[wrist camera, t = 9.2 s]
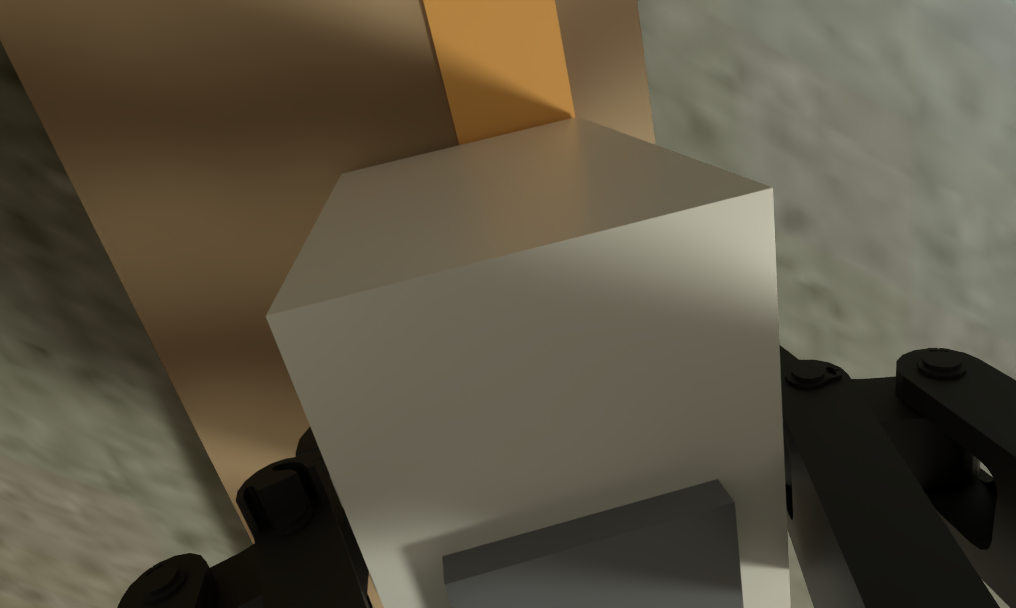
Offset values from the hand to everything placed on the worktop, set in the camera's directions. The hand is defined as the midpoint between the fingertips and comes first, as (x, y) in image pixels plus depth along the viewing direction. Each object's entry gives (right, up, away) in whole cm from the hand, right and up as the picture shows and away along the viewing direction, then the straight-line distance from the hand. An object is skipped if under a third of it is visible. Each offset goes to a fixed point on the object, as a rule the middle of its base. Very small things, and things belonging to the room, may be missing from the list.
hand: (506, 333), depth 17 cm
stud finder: (0, 0, 0) cm, 0 cm away
